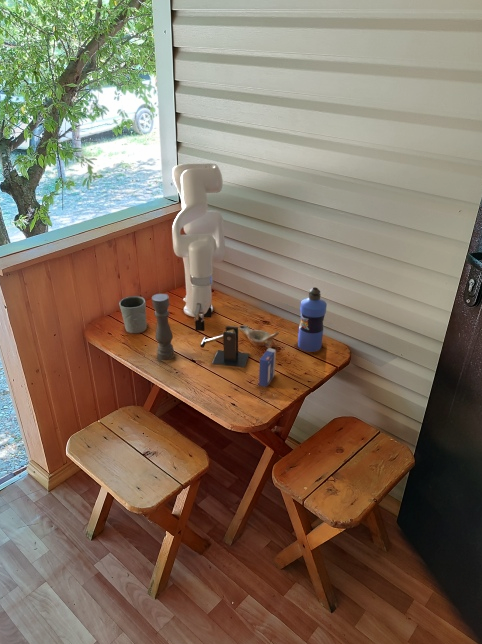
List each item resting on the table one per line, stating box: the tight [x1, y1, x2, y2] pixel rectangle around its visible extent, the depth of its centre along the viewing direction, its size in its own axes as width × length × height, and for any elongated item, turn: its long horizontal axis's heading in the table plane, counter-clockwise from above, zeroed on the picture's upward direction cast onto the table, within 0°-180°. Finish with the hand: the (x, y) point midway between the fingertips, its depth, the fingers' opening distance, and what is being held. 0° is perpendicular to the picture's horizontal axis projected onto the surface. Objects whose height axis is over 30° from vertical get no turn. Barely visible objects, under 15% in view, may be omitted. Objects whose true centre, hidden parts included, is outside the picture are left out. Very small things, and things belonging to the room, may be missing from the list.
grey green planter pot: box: [118, 295, 148, 334], centre depth 191 cm, size 10×10×12 cm
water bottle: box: [297, 287, 328, 353], centre depth 176 cm, size 9×9×25 cm
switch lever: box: [200, 329, 235, 349], centre depth 170 cm, size 13×5×2 cm, turn 79°
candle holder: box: [151, 293, 175, 363], centre depth 169 cm, size 6×6×25 cm
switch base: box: [212, 325, 250, 368], centre depth 171 cm, size 12×9×13 cm
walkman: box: [258, 347, 277, 388], centre depth 161 cm, size 8×3×12 cm, turn 155°
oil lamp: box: [238, 324, 279, 349], centre depth 183 cm, size 9×21×10 cm, turn 40°
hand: (203, 323), depth 168 cm, fingers open, 9 cm apart
